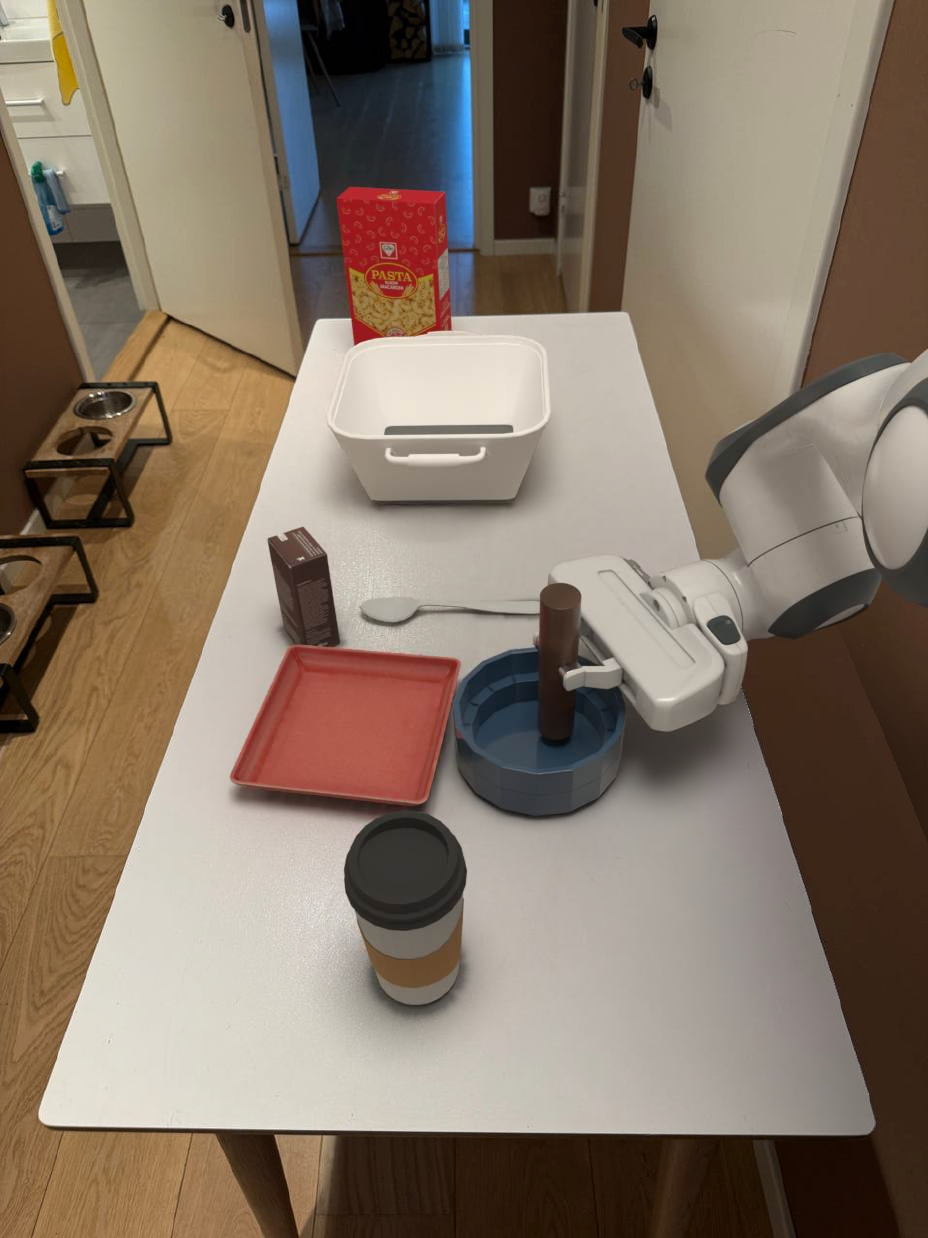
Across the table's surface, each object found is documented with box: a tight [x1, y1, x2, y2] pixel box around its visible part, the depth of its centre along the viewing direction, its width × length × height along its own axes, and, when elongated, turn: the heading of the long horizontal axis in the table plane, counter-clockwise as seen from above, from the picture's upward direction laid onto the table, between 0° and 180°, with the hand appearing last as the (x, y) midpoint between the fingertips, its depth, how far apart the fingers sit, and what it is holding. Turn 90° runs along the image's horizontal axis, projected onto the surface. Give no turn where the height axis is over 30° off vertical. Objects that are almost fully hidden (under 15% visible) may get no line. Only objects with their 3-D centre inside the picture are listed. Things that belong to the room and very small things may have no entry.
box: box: [267, 526, 341, 647], centre depth 96 cm, size 6×4×12 cm
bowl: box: [452, 646, 628, 817], centre depth 84 cm, size 15×15×6 cm
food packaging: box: [336, 186, 453, 347], centre depth 141 cm, size 15×5×25 cm, turn 74°
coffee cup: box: [343, 810, 468, 1006], centre depth 66 cm, size 8×8×15 cm
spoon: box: [359, 596, 540, 623], centre depth 101 cm, size 4×21×2 cm, turn 91°
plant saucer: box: [229, 644, 462, 807], centre depth 88 cm, size 18×18×3 cm
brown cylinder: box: [537, 583, 582, 740], centre depth 81 cm, size 3×3×16 cm
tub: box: [325, 330, 552, 505], centre depth 120 cm, size 34×27×13 cm
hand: (549, 662), depth 80 cm, fingers closed on brown cylinder, 3 cm apart
